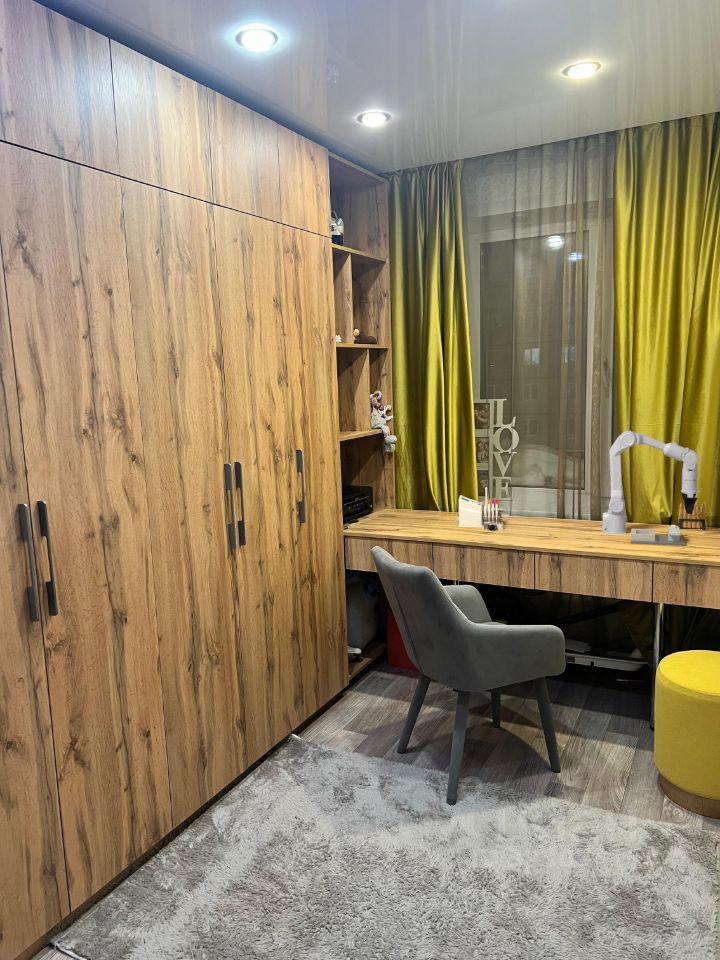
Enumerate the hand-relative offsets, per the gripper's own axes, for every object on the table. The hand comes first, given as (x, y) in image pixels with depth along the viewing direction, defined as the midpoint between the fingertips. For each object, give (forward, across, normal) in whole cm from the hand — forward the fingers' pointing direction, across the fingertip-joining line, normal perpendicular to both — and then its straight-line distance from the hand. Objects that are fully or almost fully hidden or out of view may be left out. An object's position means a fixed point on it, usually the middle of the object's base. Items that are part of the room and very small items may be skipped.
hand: (688, 512), depth 285 cm
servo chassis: (+10, -12, +12) cm, 20 cm away
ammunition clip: (+10, +12, -2) cm, 16 cm away
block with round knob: (+9, -12, +6) cm, 16 cm away
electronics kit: (+11, +12, +89) cm, 91 cm away
